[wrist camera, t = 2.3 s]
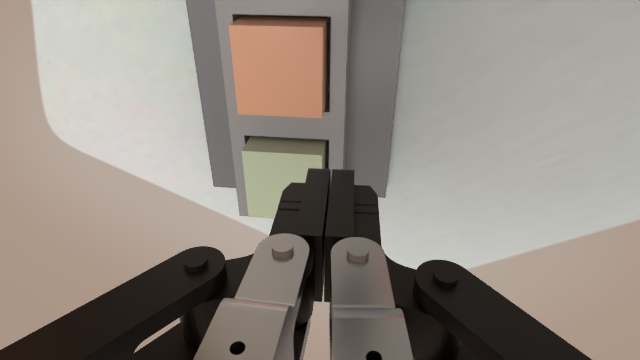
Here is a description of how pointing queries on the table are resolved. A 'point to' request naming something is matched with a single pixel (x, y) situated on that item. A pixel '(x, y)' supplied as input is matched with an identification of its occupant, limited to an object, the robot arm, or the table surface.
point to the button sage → (277, 169)
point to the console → (342, 86)
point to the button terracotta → (280, 65)
